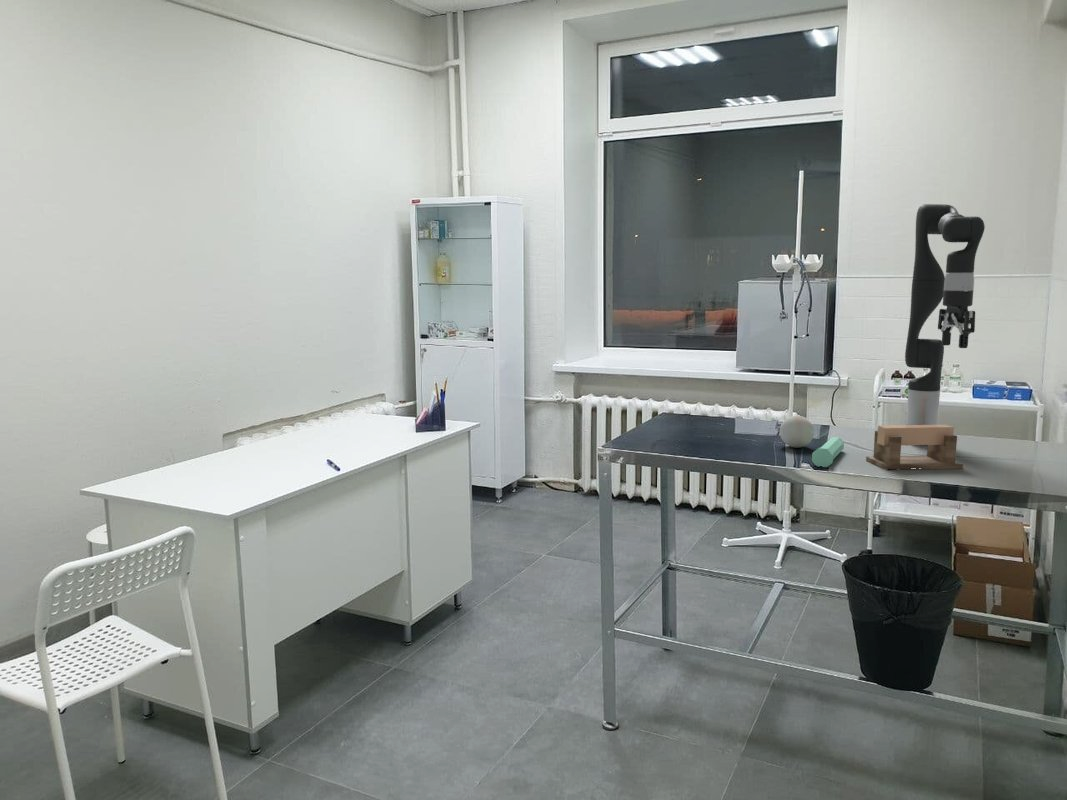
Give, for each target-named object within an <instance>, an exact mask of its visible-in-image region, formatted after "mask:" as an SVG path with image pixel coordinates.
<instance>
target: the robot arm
mask: <svg viewBox="0 0 1067 800" xmlns="http://www.w3.org/2000/svg"><path fill="white" fill-rule="evenodd" d="M985 228H986V225H985V222H984V220H983V219H982V218H981V217H980V216H965V215H962V214H959V212H958V210H957V208H955V207H954V206H953V205H952V204H942V203H941V204H936V203H934V204H933V203H930V204H929V203H924V204H921V205H920V206H919V207H918V209H917V211H916V217H915V246H914V247H915V250H914V251H915V253H914V263H913V271H912V280H911V281H912V283H911V292H910V293H911V294H910V295H911V296H910V313H909V314H910V315H909V324H908V330H907V331H908V332H907V337H906V344H905V345H906V346H905V352H904V354H905V355H904V361H905V365H906V366H907V367H908V368H913V369H915V368H916V369H918V368H919V369H930V371H929V372H928V373H926V374H925V375H922V376H920V377H915V378H911V379H910V380H909V381H908V384H907V385H908V386H907V401H906V404H907V405H906V412H905V419H904V425H939V411H940V410H939V409H940V399H941V398H940V397H941V396H940V395H941V381H942V380H941V379H942V369H943V363H944V362H943V360H944V355H945V353H944V352H945V350H944V349H945V346H950V345H951V339H952V330H953V328H954V327H955V328H956V329H958V332H959V336H958V337H959V339H958V348H959V349H968V346H969V335H971V334H972V333H975V331H976V329H975V328H976V325H975V324H976V311H975V310H969V307H971V306H972V305H973V300H974V287H975V277H974V276H975V273H974V272H975V263H976V261H975V260H976V256H977V255H976V254H977V252H978V248H979V245H980V243H981V241H982V238H983V235H984V232H985ZM929 235H941V237H942V239H943V241H945V242H947V243H967V244H966V246H965V247H963V249H960V250H959V249H958V250H955V251H951V252H949V253H948V254H947V256H946V266H945V273H944V271H943V268H942V267H941V265H940V263H939V262H938V260H937V259H936V257H935V255H934V253H933V251H932V249H931V247H930V243H929ZM941 303H942V306H944V307H946V308H940V309H939V311H938V321H937V329H938V330H940V332H941V339H937V338H935V339H934V338H919V336H920V332H921V330H922V328H923V326H924V325H925V323H926V322H927V319H929V317H930V316H931V315H932V313H933V312H934V311H935V310H936V309H937V308H938V306H939V304H941Z"/></svg>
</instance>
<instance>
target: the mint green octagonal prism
mask: <svg viewBox="0 0 1067 800" xmlns="http://www.w3.org/2000/svg"><path fill="white" fill-rule="evenodd" d="M844 446H845V442H844V441H843V440H842V438H841V437H840V436H839V437H838V436H832V437H831V438H830V439H828V441H826V442H825V443H824V444H823V445H822V446H821V447H818V448H817V449H816V450H814V451H813V452H812V455H811V462H812V463H813V465H815V466H816V467H820V466H822V468H828V467H829V466H830V465H832V464H833V462H834V460H835V458H837V456H838V455H839V454H840V453H841V452H842V451H843V450H844V449H845V447H844Z"/></svg>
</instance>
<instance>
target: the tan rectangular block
mask: <svg viewBox="0 0 1067 800" xmlns="http://www.w3.org/2000/svg"><path fill="white" fill-rule="evenodd" d="M954 430H955V427H954V426H951V425H948V424H938V425H905V424H901V425H900V424H899V425H898V424H896V425H895V424H894V425H889V424H888V425H886V424H885V425H878V426H877V431H878V435H877V443H878V444H881V445H883V446H888V444H889V436H900V437H902V439H901V446H928V445H944V435H954Z"/></svg>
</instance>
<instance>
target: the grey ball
mask: <svg viewBox="0 0 1067 800" xmlns="http://www.w3.org/2000/svg"><path fill="white" fill-rule="evenodd" d="M779 435H780V438H781V440H782V441H783V442H784V443H785V444H786V446H788V447H791V448H795V449H797V448H803V447H806V446H807V445H809V444H810V442H811V441H813V438H814V435H815V429H814V426H813V424H812V422H811V421H810V420H809V419H808V418H807V417H805V416H801V415H791V416H789V417H787V418H786V419H785V420H784V421H782V423H781V425H780V427H779Z"/></svg>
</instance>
